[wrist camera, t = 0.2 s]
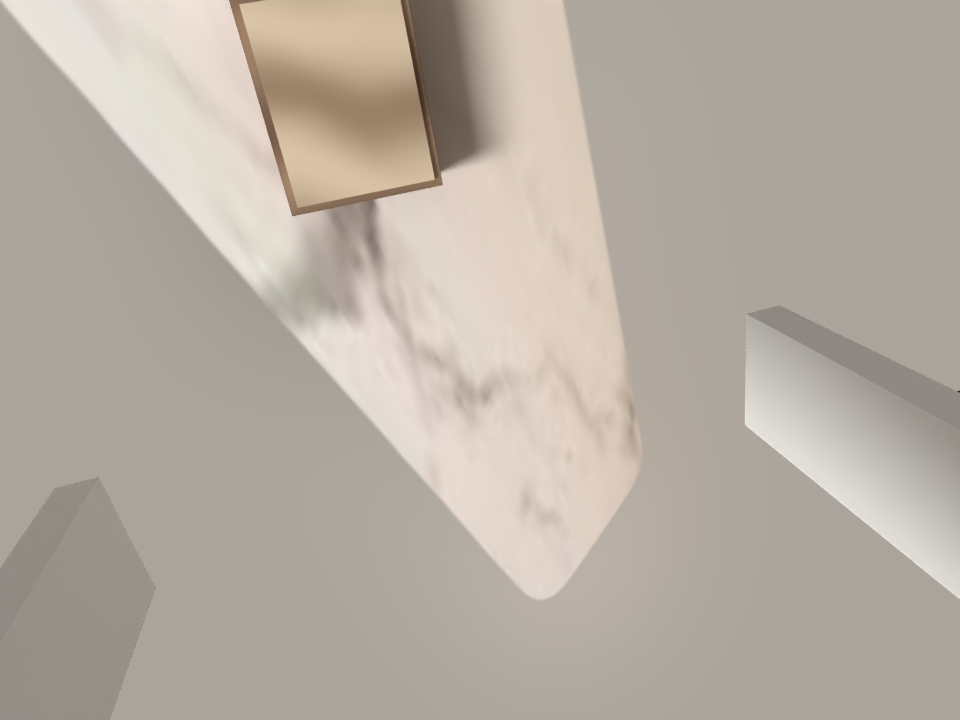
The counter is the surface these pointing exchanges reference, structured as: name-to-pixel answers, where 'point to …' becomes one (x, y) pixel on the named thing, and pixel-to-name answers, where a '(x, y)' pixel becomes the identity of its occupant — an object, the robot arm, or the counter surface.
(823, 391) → the robot arm
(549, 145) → the counter surface
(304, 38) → the brown wooden block
